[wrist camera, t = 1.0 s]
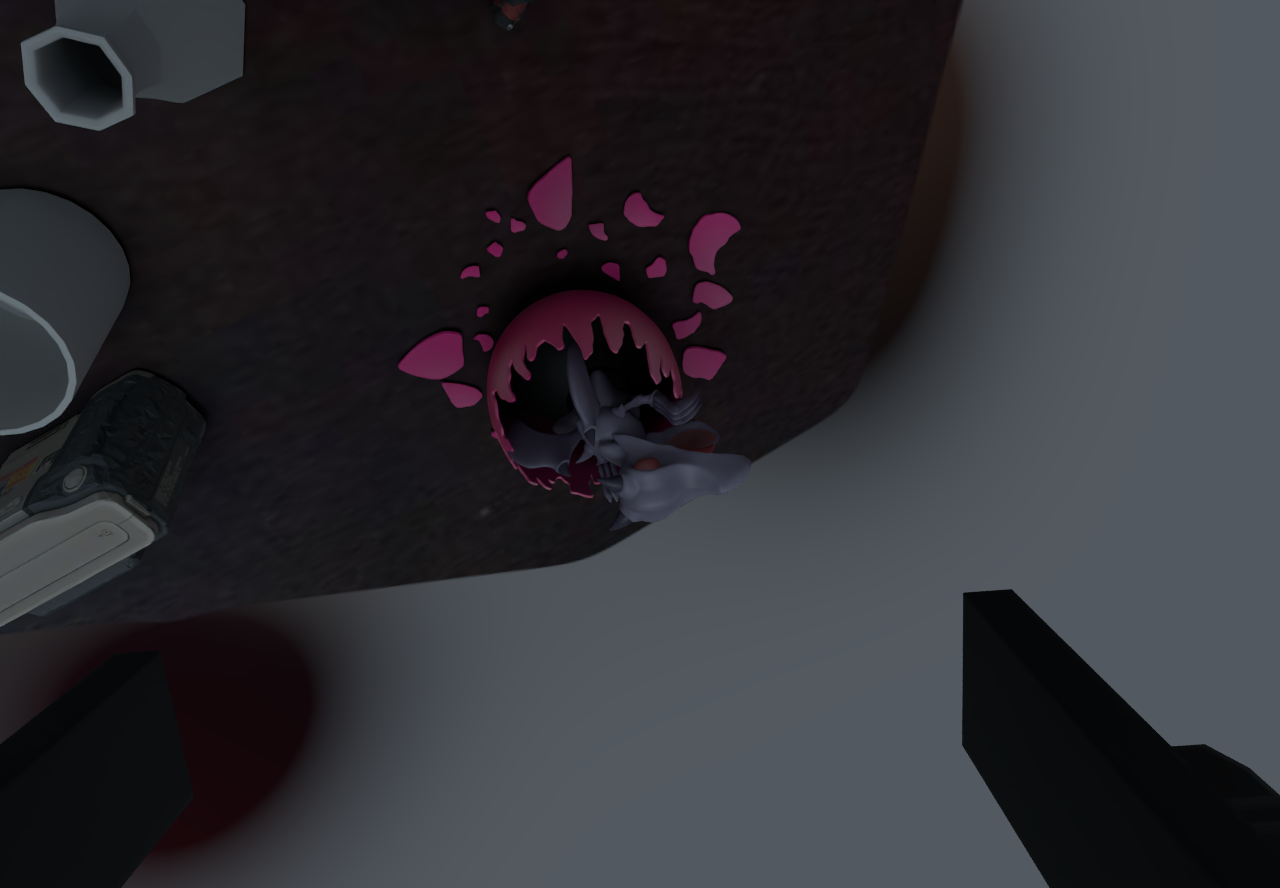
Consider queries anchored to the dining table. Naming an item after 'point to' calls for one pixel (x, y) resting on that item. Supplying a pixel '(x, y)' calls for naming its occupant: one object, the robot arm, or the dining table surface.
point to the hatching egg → (599, 378)
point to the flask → (131, 56)
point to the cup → (52, 303)
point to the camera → (93, 493)
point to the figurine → (508, 12)
